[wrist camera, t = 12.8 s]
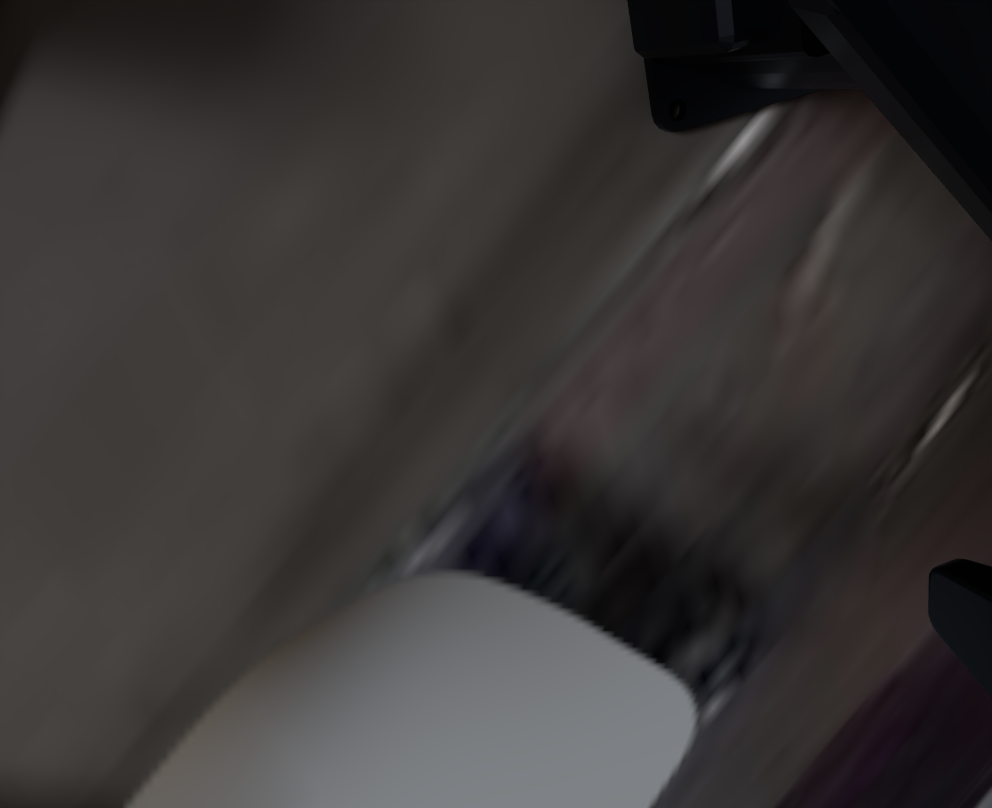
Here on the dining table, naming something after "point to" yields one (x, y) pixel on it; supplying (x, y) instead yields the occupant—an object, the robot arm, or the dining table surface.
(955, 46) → the robot arm
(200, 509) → the dining table surface
